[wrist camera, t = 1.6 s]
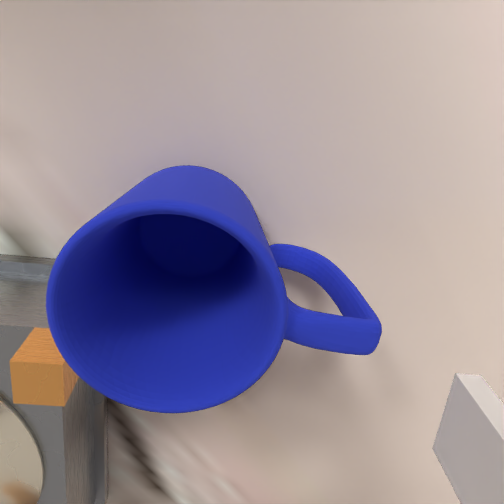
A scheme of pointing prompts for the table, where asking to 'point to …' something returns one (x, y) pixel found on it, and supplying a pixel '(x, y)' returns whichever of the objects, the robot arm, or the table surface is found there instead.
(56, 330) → the mug
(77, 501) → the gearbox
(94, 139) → the table surface
